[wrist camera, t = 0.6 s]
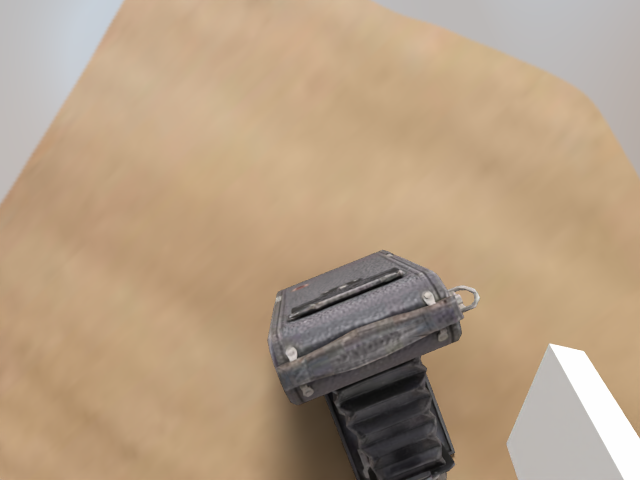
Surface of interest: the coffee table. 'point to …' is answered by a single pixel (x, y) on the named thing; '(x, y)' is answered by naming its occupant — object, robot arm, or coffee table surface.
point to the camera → (372, 360)
